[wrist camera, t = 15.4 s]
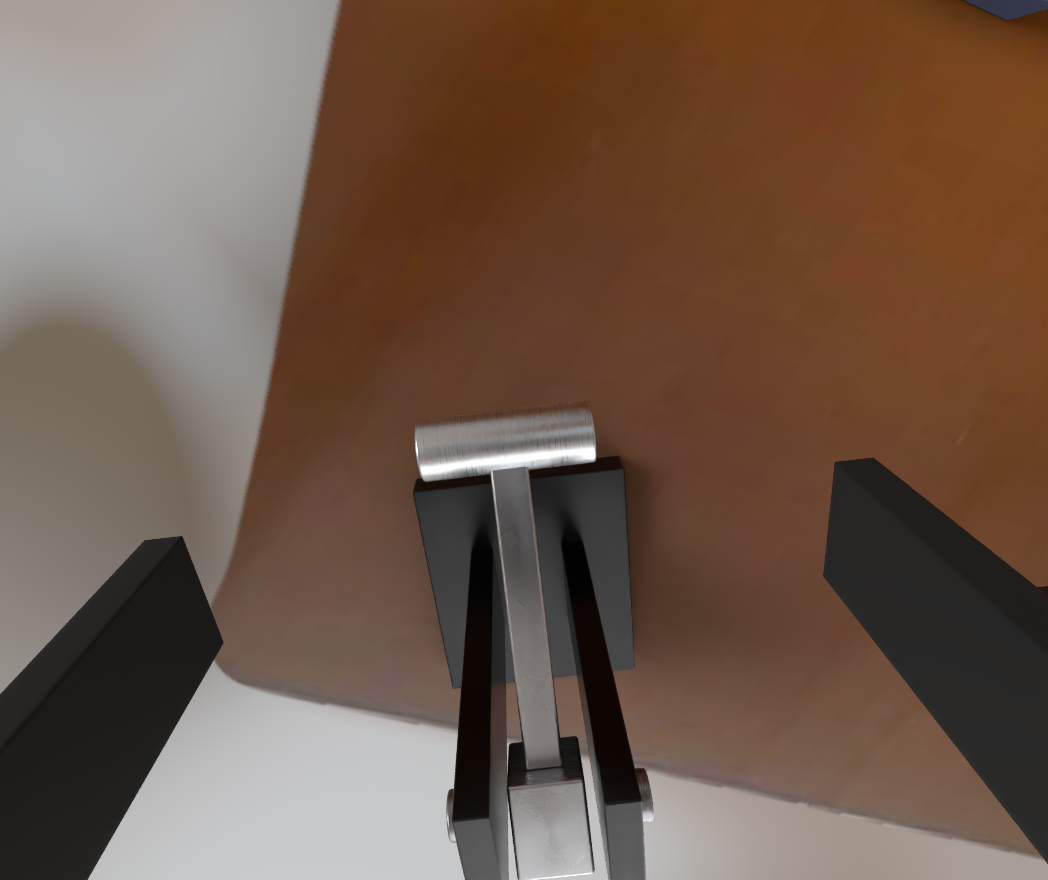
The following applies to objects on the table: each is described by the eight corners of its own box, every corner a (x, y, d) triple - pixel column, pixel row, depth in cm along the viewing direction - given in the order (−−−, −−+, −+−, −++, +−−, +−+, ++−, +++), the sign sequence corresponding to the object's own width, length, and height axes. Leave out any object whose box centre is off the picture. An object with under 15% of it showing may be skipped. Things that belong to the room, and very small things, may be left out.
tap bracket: (415, 478, 28) (347, 738, 15) (619, 455, 28) (720, 696, 15) (454, 670, 32) (425, 996, 19) (629, 650, 32) (715, 964, 19)
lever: (423, 418, 19) (408, 421, 17) (584, 400, 19) (593, 399, 17) (475, 831, 20) (468, 888, 18) (630, 813, 20) (644, 869, 18)
